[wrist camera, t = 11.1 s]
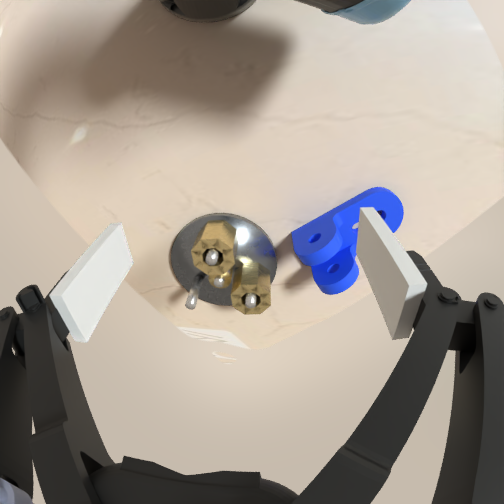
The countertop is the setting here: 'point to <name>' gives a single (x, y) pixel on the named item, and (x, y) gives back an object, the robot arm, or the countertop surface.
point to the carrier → (238, 276)
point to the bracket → (341, 238)
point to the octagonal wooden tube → (215, 237)
